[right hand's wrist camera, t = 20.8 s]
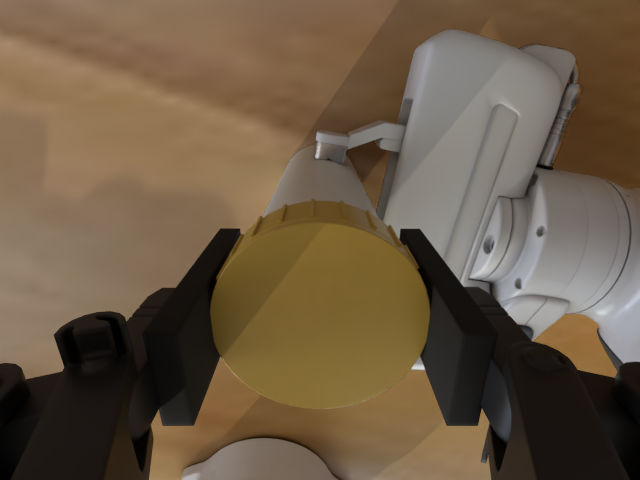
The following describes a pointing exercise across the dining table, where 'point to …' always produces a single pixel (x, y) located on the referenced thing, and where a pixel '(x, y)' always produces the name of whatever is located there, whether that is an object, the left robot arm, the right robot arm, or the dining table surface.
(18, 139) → the dining table surface
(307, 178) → the jar
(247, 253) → the lid
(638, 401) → the right robot arm
